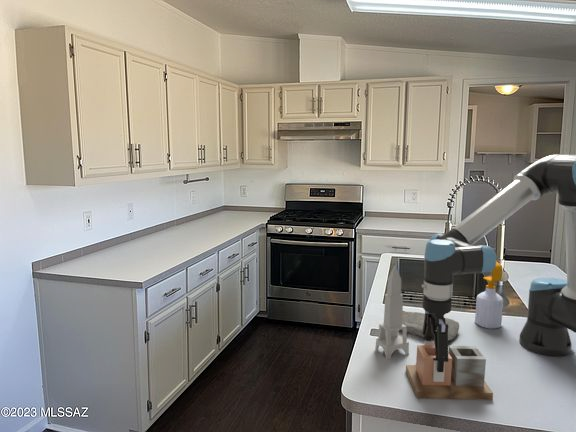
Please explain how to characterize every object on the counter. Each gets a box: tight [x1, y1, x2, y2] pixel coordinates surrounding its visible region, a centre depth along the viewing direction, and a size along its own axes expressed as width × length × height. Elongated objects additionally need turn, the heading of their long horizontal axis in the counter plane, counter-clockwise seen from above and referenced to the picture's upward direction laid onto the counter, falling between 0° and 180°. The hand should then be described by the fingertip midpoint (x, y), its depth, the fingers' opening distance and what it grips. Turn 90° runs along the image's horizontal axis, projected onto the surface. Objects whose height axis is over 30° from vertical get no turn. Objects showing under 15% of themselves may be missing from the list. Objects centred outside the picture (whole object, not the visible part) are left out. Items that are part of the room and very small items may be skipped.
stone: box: [401, 310, 460, 342], centre depth 160 cm, size 26×4×15 cm
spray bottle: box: [474, 260, 504, 329], centre depth 162 cm, size 9×9×25 cm
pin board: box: [405, 345, 494, 401], centre depth 124 cm, size 20×14×10 cm
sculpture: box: [375, 264, 410, 360], centre depth 141 cm, size 7×8×30 cm
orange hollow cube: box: [415, 344, 452, 385], centre depth 124 cm, size 8×8×8 cm
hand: (433, 371), depth 124 cm, fingers open, 9 cm apart
